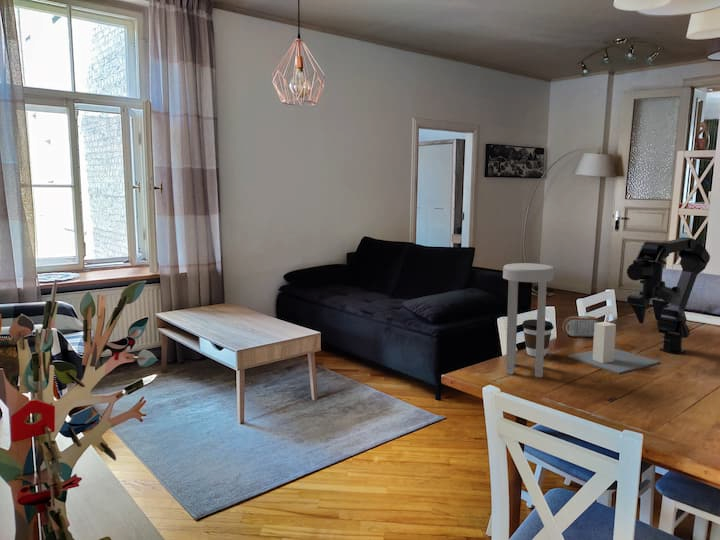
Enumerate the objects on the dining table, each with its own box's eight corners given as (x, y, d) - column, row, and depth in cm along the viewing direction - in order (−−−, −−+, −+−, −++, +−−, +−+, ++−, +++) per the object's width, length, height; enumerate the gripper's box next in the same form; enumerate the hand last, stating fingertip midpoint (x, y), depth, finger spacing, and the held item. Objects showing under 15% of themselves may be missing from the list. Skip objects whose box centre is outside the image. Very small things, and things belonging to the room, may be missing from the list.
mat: (608, 348, 198) (608, 346, 198) (659, 362, 180) (660, 361, 180) (567, 357, 187) (567, 355, 187) (618, 374, 170) (618, 372, 170)
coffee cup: (553, 352, 194) (555, 320, 192) (550, 360, 184) (552, 327, 182) (523, 348, 198) (524, 317, 197) (518, 357, 189) (519, 324, 187)
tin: (599, 335, 215) (600, 315, 214) (602, 338, 212) (603, 317, 211) (561, 335, 216) (562, 315, 215) (563, 337, 213) (564, 317, 212)
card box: (603, 357, 185) (605, 321, 183) (613, 361, 181) (616, 324, 179) (592, 359, 183) (594, 323, 181) (602, 363, 179) (604, 326, 177)
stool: (498, 375, 170) (501, 268, 165) (503, 360, 185) (505, 262, 180) (549, 380, 165) (553, 270, 160) (549, 365, 179) (554, 263, 174)
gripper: (658, 283, 171) (655, 330, 173) (692, 278, 180) (688, 323, 182) (627, 279, 181) (624, 323, 183) (660, 274, 189) (657, 316, 192)
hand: (649, 321), depth 185 cm, fingers open, 9 cm apart
